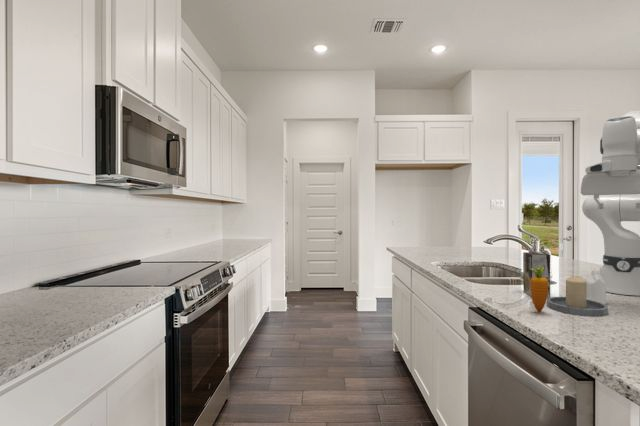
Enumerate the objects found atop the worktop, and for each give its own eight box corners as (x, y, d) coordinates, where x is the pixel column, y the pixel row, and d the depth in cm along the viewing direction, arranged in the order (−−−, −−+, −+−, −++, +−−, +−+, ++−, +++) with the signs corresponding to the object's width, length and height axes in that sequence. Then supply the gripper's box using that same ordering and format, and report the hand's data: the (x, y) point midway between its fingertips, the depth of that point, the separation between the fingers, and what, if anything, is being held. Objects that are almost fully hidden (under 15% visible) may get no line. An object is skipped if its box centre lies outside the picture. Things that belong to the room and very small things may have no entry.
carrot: (542, 315, 107) (542, 267, 107) (526, 311, 111) (526, 265, 111) (551, 313, 109) (551, 266, 109) (535, 309, 114) (535, 264, 113)
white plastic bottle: (608, 270, 117) (587, 269, 120) (608, 305, 118) (587, 303, 120) (603, 267, 123) (584, 266, 125) (603, 301, 123) (584, 299, 125)
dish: (550, 300, 125) (550, 294, 125) (607, 307, 115) (607, 301, 115) (544, 310, 113) (544, 304, 113) (608, 319, 103) (608, 313, 103)
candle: (575, 309, 111) (575, 278, 111) (561, 304, 116) (561, 274, 116) (591, 308, 111) (591, 277, 111) (576, 303, 117) (576, 274, 117)
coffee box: (550, 298, 128) (550, 254, 128) (531, 297, 129) (531, 254, 129) (540, 292, 137) (540, 251, 137) (522, 291, 138) (522, 251, 138)
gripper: (662, 164, 108) (662, 208, 109) (581, 169, 121) (581, 208, 122) (665, 162, 104) (665, 208, 104) (580, 168, 117) (580, 208, 117)
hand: (619, 208), depth 113 cm, fingers open, 8 cm apart
